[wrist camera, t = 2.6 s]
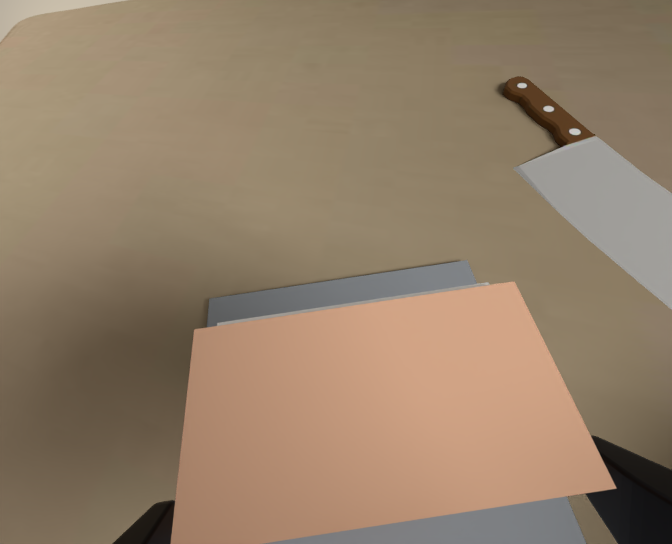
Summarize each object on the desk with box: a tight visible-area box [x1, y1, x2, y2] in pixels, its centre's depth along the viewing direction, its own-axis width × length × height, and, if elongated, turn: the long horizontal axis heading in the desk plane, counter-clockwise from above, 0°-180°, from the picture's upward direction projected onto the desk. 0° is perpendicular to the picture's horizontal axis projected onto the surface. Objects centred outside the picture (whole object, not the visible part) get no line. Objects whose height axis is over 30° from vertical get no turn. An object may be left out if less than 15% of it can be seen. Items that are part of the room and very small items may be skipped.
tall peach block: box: [171, 282, 617, 544], centre depth 10 cm, size 3×6×12 cm, turn 97°
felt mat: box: [207, 260, 586, 544], centre depth 14 cm, size 24×16×1 cm, turn 7°
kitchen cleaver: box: [503, 76, 672, 310], centre depth 25 cm, size 24×1×10 cm
